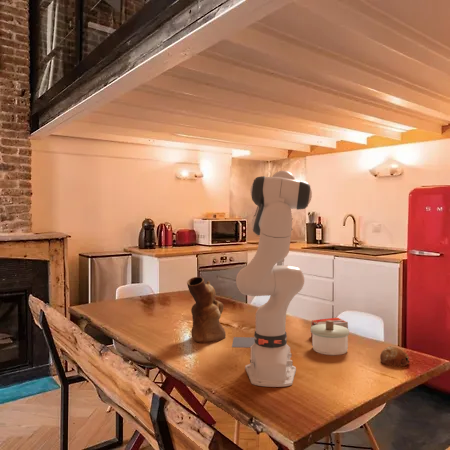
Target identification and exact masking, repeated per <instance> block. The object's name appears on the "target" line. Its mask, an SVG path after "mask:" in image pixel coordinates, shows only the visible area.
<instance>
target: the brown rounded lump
mask: <svg viewBox="0 0 450 450" xmlns="http://www.w3.org/2000/svg"><path fill="white" fill-rule="evenodd" d="M379 357H380V358H379V359H380V362H381V363H382V364H384V365H386V364H387V366H389V365H393V366H392V367H396V366H403V367H406V366H407V365H408V364H409V363H410V360H409V359H410V357H409V354H408V353H406V352H405V351H404V350H403V349H401V348H399V347H397V346H395V345H391V346H387V347H385V348H384V349H382V351H381V352H380V355H379ZM405 365H406V366H405Z"/></svg>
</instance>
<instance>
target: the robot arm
mask: <svg viewBox="0 0 450 450" xmlns="http://www.w3.org/2000/svg"><path fill="white" fill-rule="evenodd" d="M312 194H313V192H312V189H311V185H310V183H309V182H307V181H304V180H298V179H296V178H295V176H294V175H293V174H292V173H291V172H289V171H288V170H278V171H277V172H275V173H273V174H272V176H265V175H263V176H257V177H256V178H254V179H253V182H252V183H251V186H250V196H251V201H252V202H253V203H254V204H255V205H256V210H255V213H254V215H253V217H252V219H251V229H252V232H253V233H254V234H255V235H257V236H259V240H258V245H257V249H256V252H255V254H254V256H253V258H252V259H251V260H250V261H249V263H248V264H247V265H245V266H244V267H243V268H241V269H240V270H239V272H237V274H236V278H235V279H236V280H235V284H236V287H237V289H238V291H239V293H241V294H242V295H244V296H251V297H267V296H269V298H268V300H267V301H266V302H265V303H264V304H262V305H260V306H259V307H258V308H257V309H256V312H255V330H254V335H253V337H254V341H255V343H254V344H253V345H252V346H251V348H250V359H249V364H245V366H244V369H245V372H246V374H247V377H248V378H249V381H250V383H251V385H253V386H259V387H270V388H271V387H272V388H276V387H278V388H280V387H281V388H282V387H289V386H292V385H293V382H294V378H295V375H296V372H297V367H296V366H295V365H293V364H294V363H293V360H292V359H291V358H292V355H293V354H292V353H291V346H289V345H288V344H287V341H288V340H287V339H288V334H287V332H286V319H287V312H288V308H289V306H290V303H291V301H293V299H294V298H295V296H296V295H297V294H299V293H300V292H301V291H302V289H303V288H304V285H305V276H304V273H303V271H302V270H301V268H300V267H297V266H294V265H288V264H287V265H285V264H284V265H283V263H284V262H285V258H287V256H288V255H289V253H290V247H291V239H292V231H293V216H292V209H293V210H295V209H296V210H297V211H298V210H305V209H306V208H308V207H309V204H310V202H311V201H312V197H313V195H312Z"/></svg>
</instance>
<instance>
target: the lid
mask: <svg viewBox="0 0 450 450" xmlns="http://www.w3.org/2000/svg"><path fill="white" fill-rule="evenodd" d="M311 333H312V334H314V335H317V336H321V337H327V338H341V337H346V336H348V337H349V335H350V329H349V328H348V329H347V328H346V327H343V326H339V325H334V321H332V320H326V324H319V325H314V326H312V327H311V326H310V334H311Z"/></svg>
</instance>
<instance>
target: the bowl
mask: <svg viewBox="0 0 450 450" xmlns="http://www.w3.org/2000/svg"><path fill="white" fill-rule="evenodd" d="M311 340H312V350H313V351H314V352H316V353H318V354H320V355H325V356H326V355H327V356H342V355H345V354H346V353H348V348H349V335H348V336H346V337H341V338H327V337H321V336H317V335H314V334H313V337H312V339H311Z"/></svg>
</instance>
